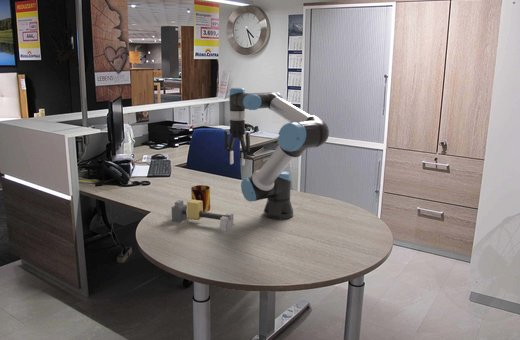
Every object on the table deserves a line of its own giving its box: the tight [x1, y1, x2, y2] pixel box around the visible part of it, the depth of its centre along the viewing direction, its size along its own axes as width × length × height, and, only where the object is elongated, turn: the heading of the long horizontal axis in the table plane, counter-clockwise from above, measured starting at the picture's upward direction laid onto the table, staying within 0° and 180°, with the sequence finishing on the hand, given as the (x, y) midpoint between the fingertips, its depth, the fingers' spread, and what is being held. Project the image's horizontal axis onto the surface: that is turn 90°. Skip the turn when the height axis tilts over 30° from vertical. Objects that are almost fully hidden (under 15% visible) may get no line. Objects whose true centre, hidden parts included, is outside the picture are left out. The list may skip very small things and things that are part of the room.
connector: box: [171, 199, 188, 223], centre depth 221 cm, size 5×6×9 cm
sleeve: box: [186, 198, 204, 221], centre depth 218 cm, size 6×4×8 cm
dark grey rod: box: [183, 209, 229, 221], centre depth 217 cm, size 28×4×4 cm, turn 68°
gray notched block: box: [219, 212, 235, 232], centre depth 212 cm, size 3×8×6 cm, turn 158°
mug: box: [190, 184, 211, 213], centre depth 234 cm, size 10×14×12 cm
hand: (237, 164), depth 231 cm, fingers open, 6 cm apart
